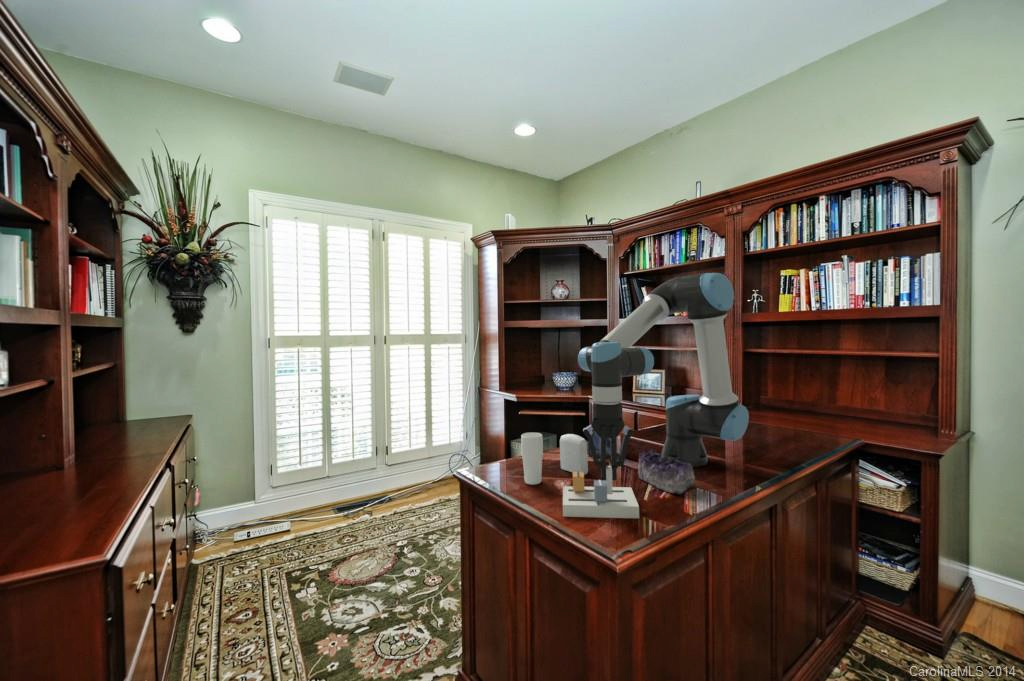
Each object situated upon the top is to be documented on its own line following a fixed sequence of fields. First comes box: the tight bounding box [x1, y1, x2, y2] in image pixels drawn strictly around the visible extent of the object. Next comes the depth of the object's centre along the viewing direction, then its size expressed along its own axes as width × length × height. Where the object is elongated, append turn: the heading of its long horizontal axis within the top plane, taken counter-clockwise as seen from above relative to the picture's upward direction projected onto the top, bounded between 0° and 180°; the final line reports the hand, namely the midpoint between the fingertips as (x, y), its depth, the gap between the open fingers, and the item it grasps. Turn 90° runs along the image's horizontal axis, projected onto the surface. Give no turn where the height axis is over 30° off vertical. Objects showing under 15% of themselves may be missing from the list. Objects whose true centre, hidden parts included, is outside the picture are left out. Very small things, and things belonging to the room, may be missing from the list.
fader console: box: [562, 485, 640, 519], centre depth 115 cm, size 19×13×3 cm
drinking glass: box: [520, 432, 544, 486], centre depth 135 cm, size 7×7×15 cm
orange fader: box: [572, 471, 585, 492], centre depth 119 cm, size 3×4×4 cm
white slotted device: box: [559, 433, 589, 476], centre depth 144 cm, size 10×4×12 cm, turn 39°
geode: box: [637, 448, 696, 496], centre depth 131 cm, size 20×12×10 cm, turn 27°
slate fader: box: [593, 479, 607, 502], centre depth 112 cm, size 3×4×4 cm
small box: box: [587, 429, 618, 458], centre depth 162 cm, size 11×6×10 cm, turn 81°
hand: (609, 492), depth 112 cm, fingers closed
